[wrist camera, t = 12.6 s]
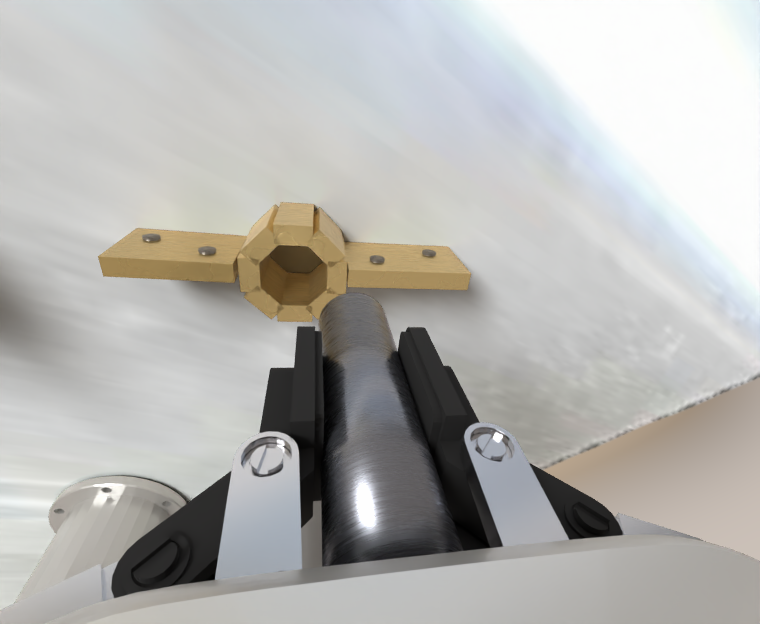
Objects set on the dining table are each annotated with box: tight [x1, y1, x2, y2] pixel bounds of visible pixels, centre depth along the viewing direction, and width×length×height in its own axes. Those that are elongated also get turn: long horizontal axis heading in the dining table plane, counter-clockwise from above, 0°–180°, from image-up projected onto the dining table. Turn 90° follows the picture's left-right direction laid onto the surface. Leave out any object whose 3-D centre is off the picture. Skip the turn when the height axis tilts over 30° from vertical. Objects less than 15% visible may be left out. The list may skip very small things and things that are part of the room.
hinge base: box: [237, 202, 471, 322], centre depth 25 cm, size 6×14×5 cm, turn 84°
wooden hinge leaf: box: [98, 228, 247, 283], centre depth 23 cm, size 7×2×5 cm, turn 83°
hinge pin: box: [319, 293, 463, 567], centre depth 9 cm, size 4×4×11 cm
